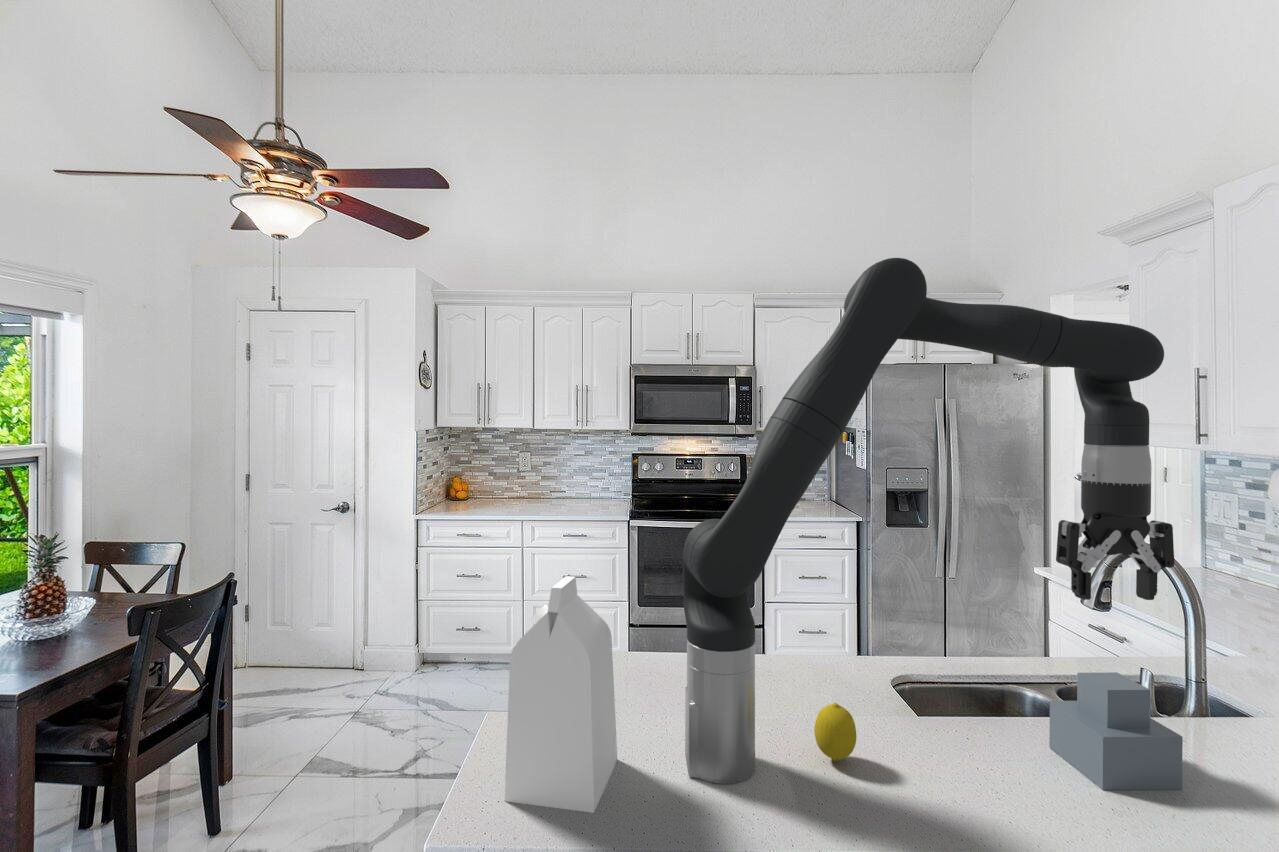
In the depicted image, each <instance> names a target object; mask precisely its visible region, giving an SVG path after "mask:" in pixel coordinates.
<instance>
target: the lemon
mask: <svg viewBox="0 0 1279 852" xmlns="http://www.w3.org/2000/svg"><path fill="white" fill-rule="evenodd" d="M814 738H815V741H816V744H817V747H818V748H819V750H820V751H821V752H822V754H824V756H826V757H827V758H830V759H831V760H832V761H833V762H835V763H836V762H838V761H839V760H843V759H845V758H847V757H849V756H850V755H851V754H852V753H853V752H854V749H855V747H856V744H857V728H856V722H855V720H854V718H853V716H852V714H851V713H850V712H849V711H848V710H847V709H846V708H845V707H844V706H842V705H839V703H837V702H832V703H831V704H827V705H825V706H823V707H822V708H821V709H820V710H819V711H818V713H817V715H816V719H815V723H814Z"/></svg>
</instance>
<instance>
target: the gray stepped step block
mask: <svg viewBox="0 0 1279 852" xmlns="http://www.w3.org/2000/svg"><path fill="white" fill-rule="evenodd" d="M1076 677H1077V678H1076V679H1077V681H1076V686H1077V687H1076V689H1077V691H1076V696H1077V698H1076V700H1049V747H1050V748H1051V749H1050V748H1049V749H1050V750H1051V751H1053V753H1056V755H1058V756H1059V757H1060V758H1062V759H1063V760H1064V761H1066V762H1067V763H1068V764H1069V765H1070V766H1072V767H1073V768H1074V769H1075V770H1076V771H1078V772H1079V773H1080V774H1082V775H1083V776H1084V777H1085V778H1087V779H1088V780H1089V781H1090V782H1092V783H1094V785H1096V786H1097V787H1098V788H1100V790H1102V791H1134V790H1135V791H1142V790H1143V791H1146V790H1147V791H1153V790H1154V791H1158V790H1160V791H1162V790H1163V791H1167V790H1170V791H1171V790H1173V791H1174V790H1175V791H1177V790H1180V791H1181V790H1183V742H1184V741H1183V736H1182V735H1181V734H1180V733H1177V732H1175V731H1174V730H1172V729H1170V728H1169V727H1167V726H1165V725H1164V724H1161V723H1160V722H1158V721H1156V720H1155V719H1153V718H1151V689H1150V688H1148V687H1146V686H1144V685H1142V684H1140V683H1138V682H1136V681H1134V680H1132V679H1130V678H1129V677H1126V676H1125V675H1123V674H1121V673H1119V672H1109V671H1108V672H1077V674H1076Z"/></svg>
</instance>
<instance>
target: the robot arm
mask: <svg viewBox="0 0 1279 852" xmlns="http://www.w3.org/2000/svg"><path fill="white" fill-rule="evenodd" d="M927 289H928V286H927V280H926V277H925V274H924V272H923V271H922V269H921V268H920V266H919V265H917V264H916V263H915V262H913V261H912V260H910V259H907V258H903V257H891V258H886V259H883V260H880V261H878V262H876V263H873V264H872V265H870V266H869V267H867V269H865V270H864V271H863V272H862V273H861V275H859V277H858V278H857V280H856V281H855V282H854V284H853V285H852V286H851V288H850V289H849V290H848V292H847V295H846V296H845V299H844V304H843V310H844V313H843V315H842V317H841V319H840V321H839V323H838V324H837V326H836V328H835V329H834V331H833V333H832V334H831V336H830V337H829V339H828V340H827V341H826V343H825V344H824V345H823V346H822V348H821V349H820V350H819V351H818V352H817V354H815V355H814V357H813V358H812V359H811V360H810V362H809V363H808V364H807V365H806V366H805V368H804V369H803V370H802V371H801V373H800V374H799V375H798V376H797V377H796V379H795V380H794V382H793V383H792V384H791V385H790V387H789V388H788V389H787V391H786V393H785V394H784V395H783V397H782V399H781V400H780V402H779V403H778V405H777V407H776V408H775V410H774V411H773V412H772V414H771V416H770V417H769V419H768V420H767V423H766V425H765V427H764V428H763V430H762V433H761V435H760V436H759V437H760V438H759V440H758V443H757V446H756V449H755V452H754V455H753V458H752V463H751V465H750V469H749V472H748V474H747V477H746V479H745V481H744V484H743V486H742V488H741V489H740V492H738V494H737V496H736V498H735V499H734V500H733V502H732V503H731V505H730V506H729V508H728V509H727V510H726V512H725V513H724V515H723V516H721V518H710V519H709V518H708V519H705V520H703V521H701V522H699V523H697V524H696V525H695V526H694V527H692V528H691V530H690V531H689V533H688V535H687V537H686V539H685V542H684V546H683V552H682V554H683V555H682V578H683V579H682V581H683V582H682V583H683V584H682V585H683V586H682V587H683V612H684V617H685V621H686V622H685V623H686V686H685V689H684V690H685V695H684V699H685V700H684V704H685V705H684V706H685V707H684V710H685V711H684V712H685V713H684V715H685V718H684V719H685V720H684V721H685V722H684V727H685V728H684V733H685V734H684V737H685V739H684V741H685V742H684V747H685V748H684V752H685V761H686V766H687V774H688V777H689V778H699V779H702V780H705V782H706V781H707V782H710V783H716V784H734V783H735V784H736V783H739V782H743V781H745V780H746V779H749V778H750V777H752V775H753V774H754V772H755V768H756V623H755V619H754V617H753V614H752V611H751V605H750V600H749V589H750V588H751V587H752V586H753V585H754V584H755V583H756V582H757V581H758V579H759V577H760V575H761V573H762V572H763V570H764V567H765V565H766V564H767V561H768V560H769V558H770V556H771V553H772V552H773V549H774V547H775V545H776V542H777V541H778V539H779V537H780V535H781V532H782V531H783V529H784V526H785V525H786V522H787V521H788V519H789V517H790V516H791V514H792V512H793V511H794V509H795V507H796V506H797V504H799V502H800V500H801V499H802V497H803V495H804V494H805V493H806V491H807V489H808V488H809V486H810V485H811V483H812V481H813V480H814V478H815V477H816V475H817V474H818V473H819V470H820V469H821V467H822V466H823V465H824V463H825V461H826V460H827V458H828V457H829V455H830V454H831V452H832V450H834V447H836V444H837V443H838V441H839V439H840V438H841V436H842V434H843V433H844V432H845V429H846V428H847V427H848V424H849V422H850V421H851V419H852V417H853V415H854V413H855V411H856V410H857V408H858V407H859V404H860V402H861V401H862V400H863V397H864V395H865V393H866V391H867V389H868V387H869V385H870V384H871V381H872V379H873V377H874V375H875V373H876V372H877V369H878V367H879V366H880V365H881V363H882V361H883V360H884V359H885V357H886V355H887V354H888V353H889V352H890V350H891V349H892V347H893V346H894V345H895V344H896V342H897V341H898V340H906V341H918V342H925V343H933V344H940V345H947V346H952V347H958V348H964V349H969V350H974V351H979V352H982V353H988V354H992V355H995V356H1000V357H1004V358H1008V359H1011V360H1016V361H1020V362H1024V363H1028V364H1032V365H1037V366H1040V367H1048V368H1072V369H1073V373H1074V379H1075V382H1076V387H1077V392H1078V395H1079V396H1078V397H1079V400H1080V403H1081V406H1082V409H1083V412H1084V425H1083V444H1084V445H1083V451H1082V456H1081V478H1080V482H1081V483H1080V508H1081V510H1082V513H1083V519H1082V520H1081V522H1073V521H1071V520H1070V521H1068V520H1065V519H1061V520H1059V522H1058V524H1057V525H1058V528H1057V538H1056V539H1057V541H1056V555H1055V561H1056V563H1058V564H1060V565H1063V566H1066V567H1068V568H1069V569H1070V572H1071V573H1070V576H1071V579H1070V581H1071V582H1070V583H1071V586H1070V589H1071V591H1072V593H1073V594H1074V596H1075V597H1076V598H1078V599H1082V600H1083V601H1085V600H1087V601H1088V600H1089V601H1090V600H1091V598H1092V572H1090V571H1091V570H1092V568H1093V567H1094V566H1095V564H1096V563H1097V562H1098V561H1102V560H1103V558H1104V557H1105V556H1106V555H1108V556H1115V555H1120V554H1122V555H1125V556H1129V557H1130V558H1132V560H1133V561H1134V562H1135V564H1136V565H1137V567H1138V568H1139V569H1136V572H1135V574H1136V575H1135V576H1136V581H1135V587H1136V589H1135V594H1136V597H1138V598H1140V599H1143V600H1146V601H1154V599H1155V597H1156V596H1157V594H1158V573H1160V571H1161V570H1163V569H1165V568H1169V569H1171V568H1174V566H1175V549H1174V547H1175V546H1174V527H1173V525H1172V523H1169V522H1165V521H1161V520H1154V519H1153V520H1151V521H1150V522H1149V521H1148V519H1147V517H1148V516H1150V515H1151V512H1152V458H1151V453H1150V452H1151V451H1150V446H1149V445H1150V412H1149V409H1148V407H1147V406H1146V405H1145V404H1144V403H1142V402H1141V401H1137V400H1135V399H1134V398H1133V394H1132V390H1131V389H1132V388H1131V384H1130V382H1136V381H1140V380H1143V379H1145V378H1147V377H1149V376H1151V375H1153V374H1155V373H1156V372H1157V371H1158V369H1159V368H1161V366H1162V365H1163V364H1162V363H1164V362H1163V361H1164V359H1165V350H1164V345H1163V344H1162V342H1161V341H1160V340H1159V338H1158V337H1157V336H1156V335H1154V333H1152V332H1150V331H1148V330H1146V329H1144V328H1141V327H1137V326H1134V325H1130V324H1124V323H1117V322H1108V321H1099V320H1087V319H1077V318H1070V317H1067V316H1063V315H1061V314H1060V315H1059V314H1056V313H1052V312H1048V311H1047V312H1046V311H1042V310H1038V309H1034V308H1030V307H1026V306H1025V307H1024V306H1021V305H1019V306H1018V305H1010V304H992V303H990V304H989V303H959V302H952V301H946V300H945V301H944V300H938V299H934V298H930V297H927V295H928V292H927V291H928V290H927ZM1083 535H1084V538H1083V539H1082V541H1081V542H1080V538H1082V537H1083ZM1147 536H1148V537H1149V544H1148V543H1147V542H1146V540H1145V539H1146V538H1147ZM1079 542H1080V543H1079ZM1091 548H1093V549H1091Z"/></svg>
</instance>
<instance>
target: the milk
mask: <svg viewBox="0 0 1279 852" xmlns="http://www.w3.org/2000/svg"><path fill="white" fill-rule="evenodd" d="M576 579H577V578H576V576H568V575H567V576H566V575H565V576H564V577H563V578H561V580H559V581H558V582H557V583H555V584H554V585H552V587H551V589H550V594H549V600H548V605H547V604H544V605H543V606H542V607H540V608H539V609H538V611H536V612H535V614H534V615H533V616H532V617H531V618H530V621H531V622H532V623H533V626H532V627H530V629H529V630H528V631H527V632H526V633H525V634H524V635H522V637H521V638H520V639H519V640H518V641H517V642H516V643H515V644H514V645H513V647H512V650H511V652H510V657H509V673H508V676H509V678H508V698H507V699H508V700H507V702H508V703H507V724H506V726H507V727H506V748H505V749H506V751H505V755H506V756H505V776H504V777H505V778H504V781H505V782H504V798H503V799H504V802H509V803H515V804H516V803H517V804H523V805H532V806H537V807H538V806H539V807H548V808H553V809H554V808H555V809H562V810H568V811H577V812H578V811H579V812H585V813H593V814H595V811H596V809H597V807H598V805H599V803H600V800H601V798H602V796H603V793H604V791H605V789H606V787H607V785H608V783H609V780H610V778H611V775H612V773H613V771H614V768H615V766H616V764H617V762H618V745H617V744H618V741H617V725H616V724H617V721H616V719H617V718H616V704H615V703H616V702H615V701H616V699H615V682H614V679H615V678H614V663H613V662H614V661H613V660H614V659H613V642H612V641H613V639H612V631H611V628H610V627H609V624H608V623H607V622H606V621H605V620H604V618H602V617H601V616H600V614H598V612H596V611H595V610H594V609H593V608H592V607H591V606H590V605H589V604H588V603H587V602H586V601H584V599H582V598H581V597H580V595H578V588H577V580H576Z"/></svg>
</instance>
